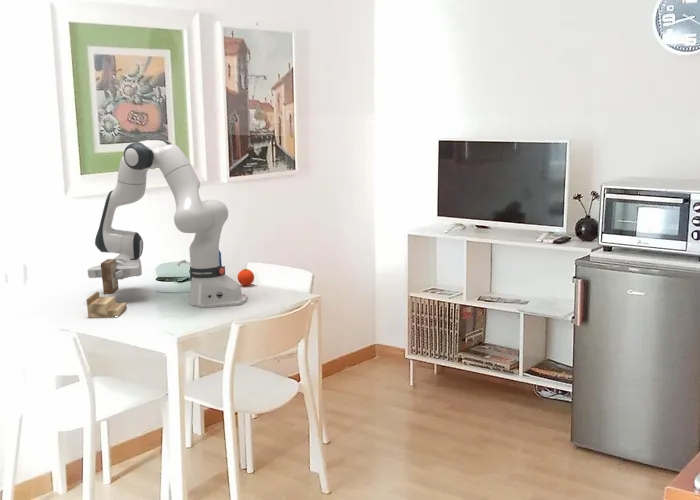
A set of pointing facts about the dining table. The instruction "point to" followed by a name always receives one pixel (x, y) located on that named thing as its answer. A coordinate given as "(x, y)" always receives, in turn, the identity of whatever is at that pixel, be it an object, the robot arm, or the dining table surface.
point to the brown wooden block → (109, 276)
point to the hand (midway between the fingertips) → (108, 275)
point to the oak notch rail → (104, 306)
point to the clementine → (245, 277)
